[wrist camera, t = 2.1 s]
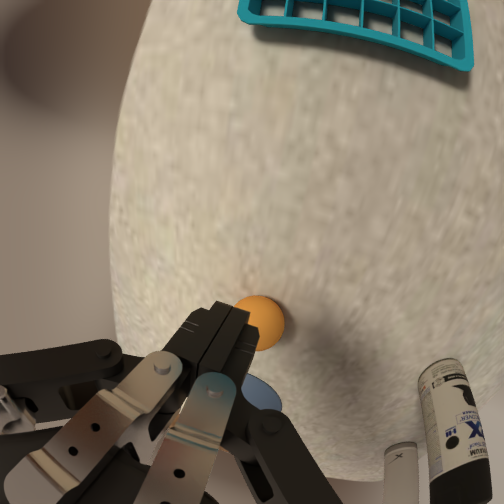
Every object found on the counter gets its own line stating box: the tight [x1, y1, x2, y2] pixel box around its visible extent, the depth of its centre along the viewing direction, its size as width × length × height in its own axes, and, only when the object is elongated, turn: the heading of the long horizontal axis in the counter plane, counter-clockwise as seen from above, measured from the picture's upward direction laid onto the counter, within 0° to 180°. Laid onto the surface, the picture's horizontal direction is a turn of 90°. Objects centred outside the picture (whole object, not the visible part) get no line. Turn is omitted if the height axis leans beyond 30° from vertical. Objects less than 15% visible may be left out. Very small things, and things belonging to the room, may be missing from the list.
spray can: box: [418, 358, 492, 504], centre depth 17 cm, size 7×7×20 cm
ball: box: [234, 296, 285, 351], centre depth 26 cm, size 6×6×6 cm
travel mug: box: [383, 442, 419, 504], centre depth 24 cm, size 6×7×20 cm
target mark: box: [241, 373, 282, 412], centre depth 36 cm, size 14×14×1 cm
